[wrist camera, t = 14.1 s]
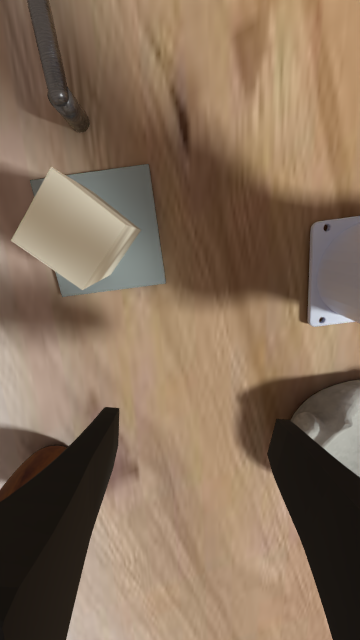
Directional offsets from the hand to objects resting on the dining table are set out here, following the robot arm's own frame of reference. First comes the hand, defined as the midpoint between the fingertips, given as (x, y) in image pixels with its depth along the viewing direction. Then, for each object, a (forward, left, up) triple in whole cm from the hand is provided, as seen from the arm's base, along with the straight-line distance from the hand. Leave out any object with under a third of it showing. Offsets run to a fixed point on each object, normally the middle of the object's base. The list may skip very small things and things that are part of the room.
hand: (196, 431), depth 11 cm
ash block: (+5, -9, -10) cm, 14 cm away
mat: (+5, -9, -10) cm, 15 cm away
